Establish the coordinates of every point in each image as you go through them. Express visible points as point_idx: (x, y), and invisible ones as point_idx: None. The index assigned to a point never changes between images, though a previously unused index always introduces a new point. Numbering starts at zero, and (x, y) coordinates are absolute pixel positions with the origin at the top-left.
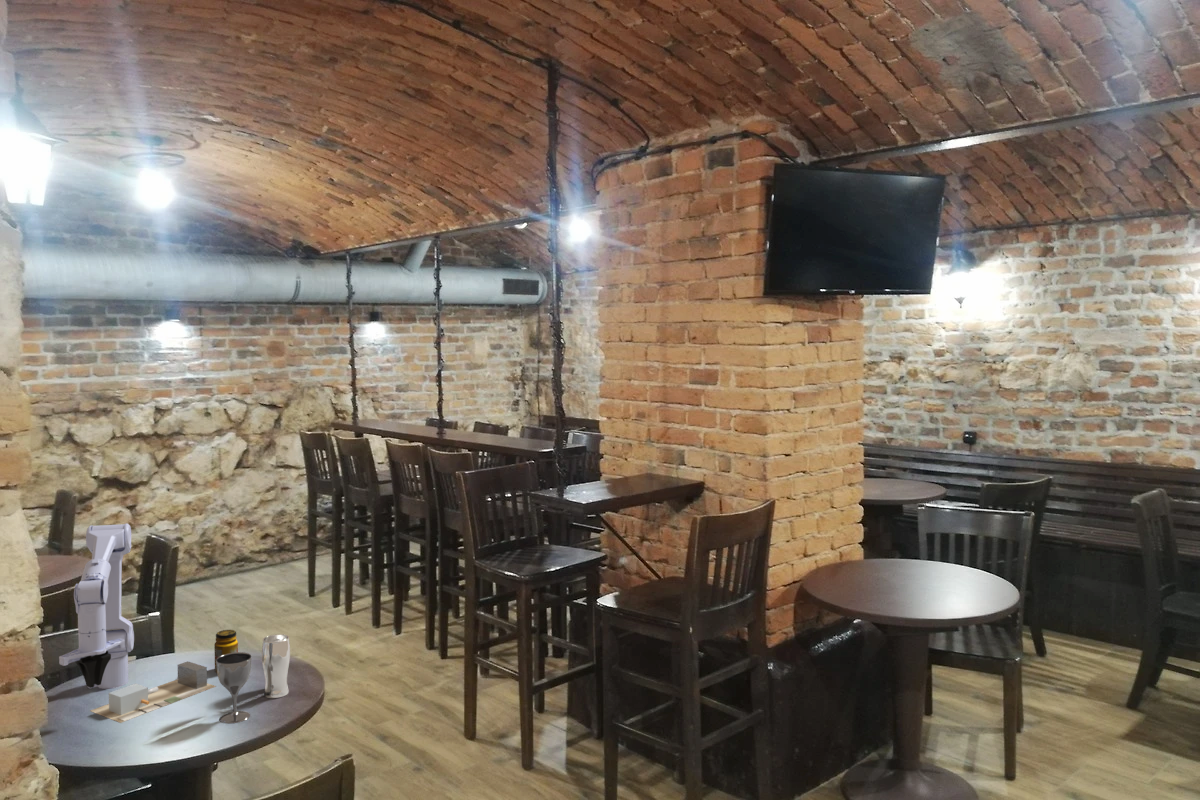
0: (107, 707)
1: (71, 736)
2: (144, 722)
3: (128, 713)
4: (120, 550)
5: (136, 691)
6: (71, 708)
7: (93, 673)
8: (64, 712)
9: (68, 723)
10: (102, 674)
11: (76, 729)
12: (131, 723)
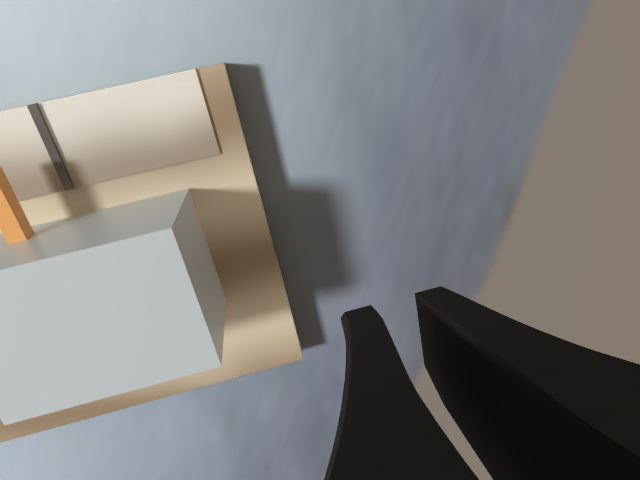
0: None
1: (453, 149)
2: (76, 31)
3: (143, 184)
4: None
5: (26, 266)
6: None
7: (531, 363)
8: None
9: (400, 314)
10: (360, 370)
11: (403, 221)
12: None
